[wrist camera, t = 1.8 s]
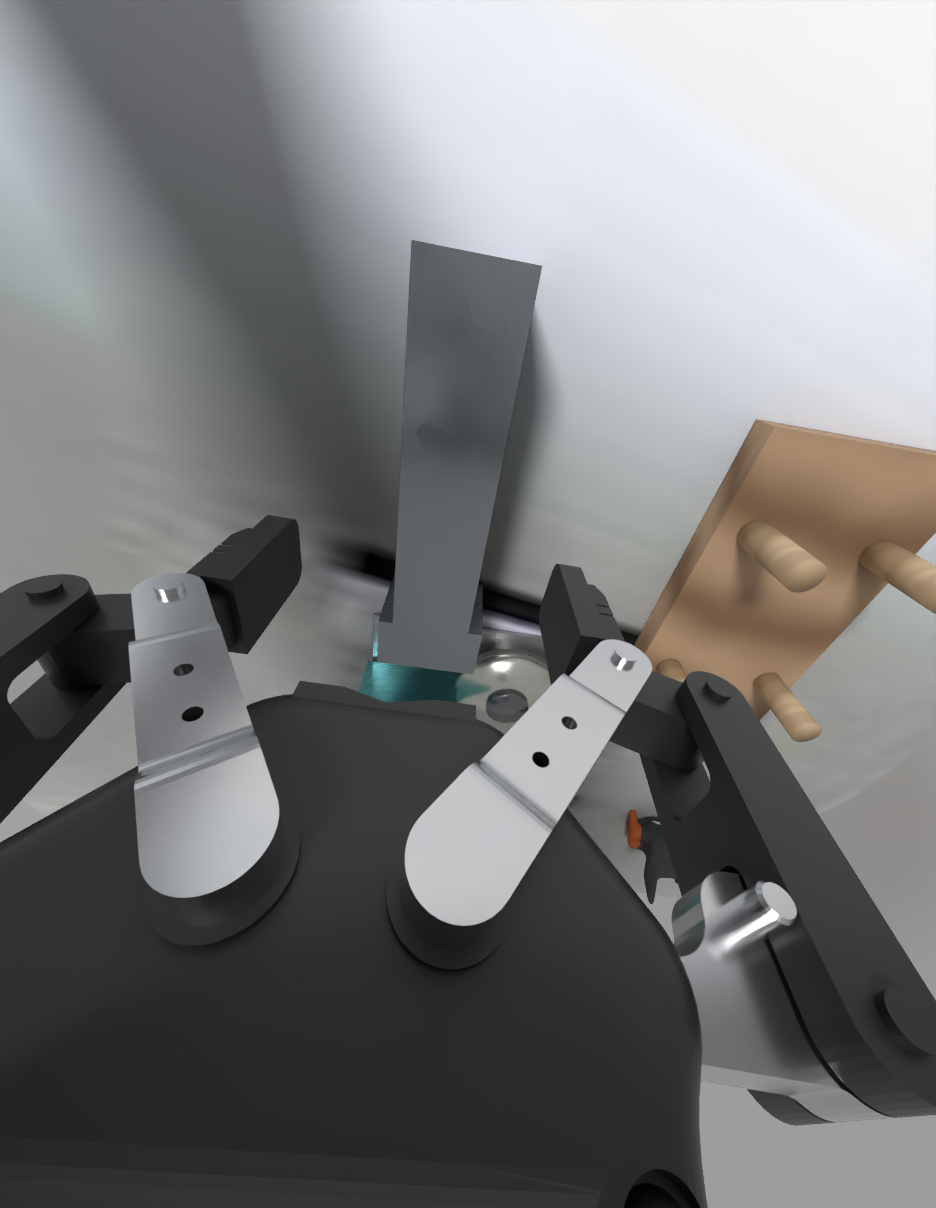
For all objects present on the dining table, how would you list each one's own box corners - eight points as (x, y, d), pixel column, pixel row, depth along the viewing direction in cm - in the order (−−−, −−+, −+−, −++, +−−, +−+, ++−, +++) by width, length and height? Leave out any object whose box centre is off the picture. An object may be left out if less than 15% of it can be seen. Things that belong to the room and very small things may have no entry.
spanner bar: (411, 254, 16) (386, 235, 12) (545, 280, 16) (566, 270, 12) (393, 608, 26) (377, 661, 22) (474, 620, 27) (473, 674, 23)
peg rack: (756, 419, 19) (844, 454, 14) (966, 456, 20) (1114, 501, 15) (607, 695, 31) (628, 763, 26) (741, 712, 31) (785, 781, 27)
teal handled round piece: (368, 629, 27) (343, 699, 22) (574, 657, 28) (593, 730, 23) (368, 705, 31) (347, 777, 27) (544, 727, 32) (554, 800, 28)
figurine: (622, 810, 46) (773, 830, 42) (631, 914, 39) (817, 951, 35) (628, 774, 42) (797, 794, 38) (639, 884, 34) (854, 922, 30)
